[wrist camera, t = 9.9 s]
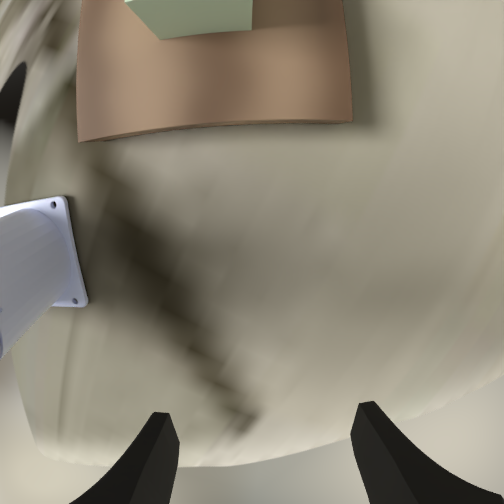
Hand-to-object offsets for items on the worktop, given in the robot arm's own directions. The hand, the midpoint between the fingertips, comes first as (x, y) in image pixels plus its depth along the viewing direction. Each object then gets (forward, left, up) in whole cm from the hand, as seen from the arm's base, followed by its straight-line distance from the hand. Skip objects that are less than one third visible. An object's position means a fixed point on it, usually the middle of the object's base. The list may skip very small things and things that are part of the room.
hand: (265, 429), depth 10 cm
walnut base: (-2, +18, -10) cm, 21 cm away
